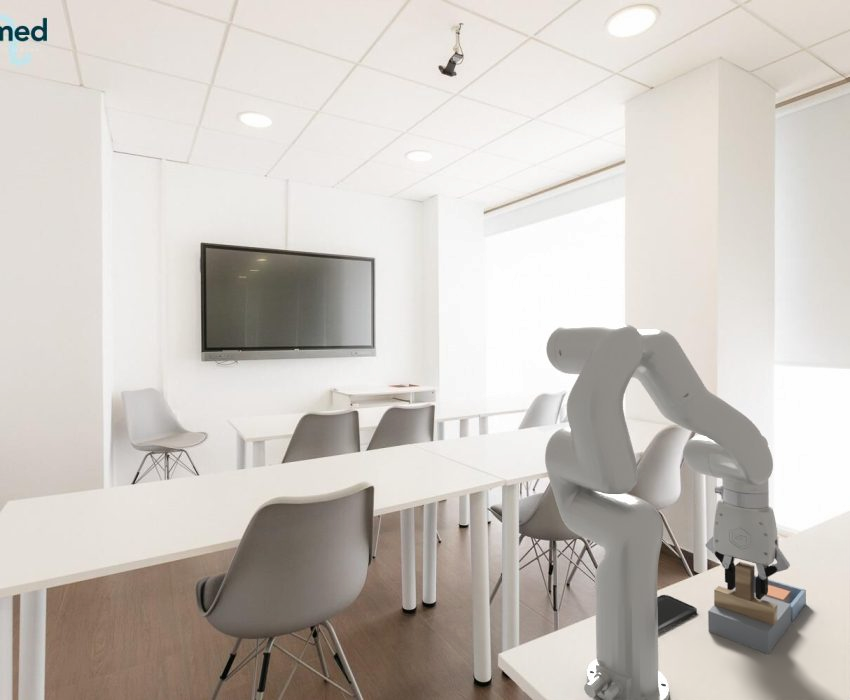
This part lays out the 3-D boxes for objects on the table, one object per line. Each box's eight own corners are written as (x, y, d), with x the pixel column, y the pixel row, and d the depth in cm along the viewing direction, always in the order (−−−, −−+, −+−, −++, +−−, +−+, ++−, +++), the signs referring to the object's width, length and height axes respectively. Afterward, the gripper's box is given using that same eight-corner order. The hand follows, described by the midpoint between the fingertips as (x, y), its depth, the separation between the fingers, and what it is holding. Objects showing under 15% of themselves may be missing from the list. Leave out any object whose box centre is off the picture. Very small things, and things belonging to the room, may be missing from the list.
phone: (699, 609, 107) (654, 632, 99) (699, 614, 107) (654, 638, 99) (664, 593, 113) (619, 614, 105) (664, 598, 113) (619, 619, 105)
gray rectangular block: (768, 654, 92) (768, 632, 92) (708, 631, 100) (708, 610, 100) (790, 624, 101) (790, 604, 101) (734, 605, 109) (734, 586, 109)
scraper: (773, 625, 94) (773, 576, 94) (714, 604, 102) (714, 559, 102) (777, 620, 96) (777, 572, 96) (718, 600, 103) (718, 555, 103)
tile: (790, 591, 109) (790, 600, 109) (763, 583, 113) (763, 592, 113) (783, 599, 106) (783, 609, 106) (755, 591, 110) (755, 600, 110)
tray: (792, 622, 102) (792, 607, 102) (736, 603, 110) (736, 589, 110) (805, 604, 109) (805, 590, 109) (752, 587, 116) (751, 574, 116)
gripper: (691, 492, 103) (692, 583, 103) (791, 513, 90) (792, 616, 90) (706, 484, 108) (707, 571, 108) (803, 503, 95) (804, 601, 95)
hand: (746, 591), depth 99 cm, fingers open, 4 cm apart
